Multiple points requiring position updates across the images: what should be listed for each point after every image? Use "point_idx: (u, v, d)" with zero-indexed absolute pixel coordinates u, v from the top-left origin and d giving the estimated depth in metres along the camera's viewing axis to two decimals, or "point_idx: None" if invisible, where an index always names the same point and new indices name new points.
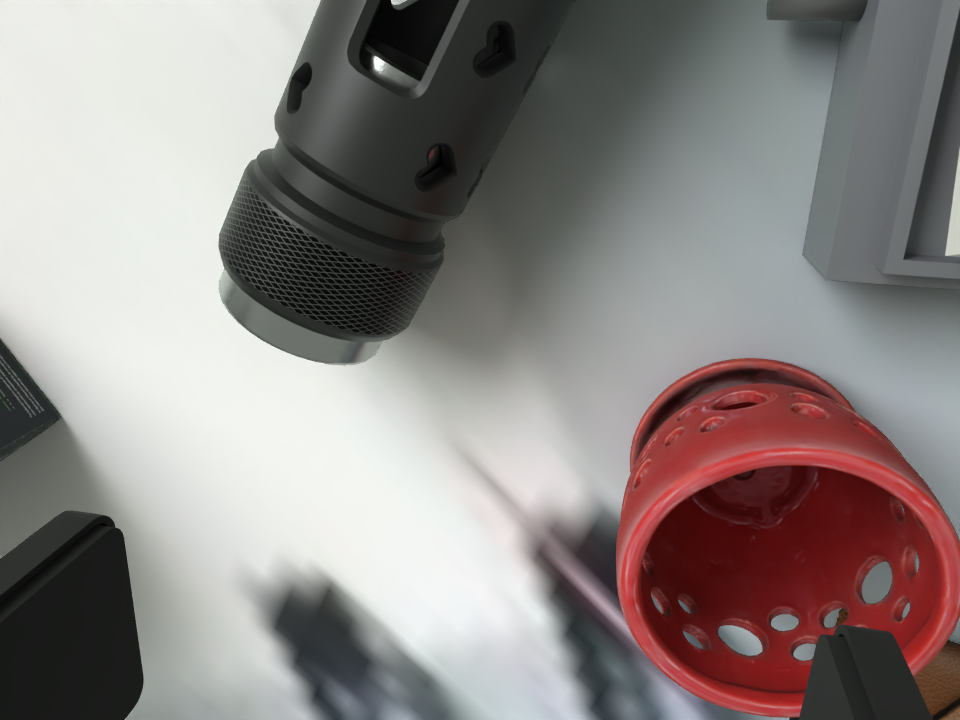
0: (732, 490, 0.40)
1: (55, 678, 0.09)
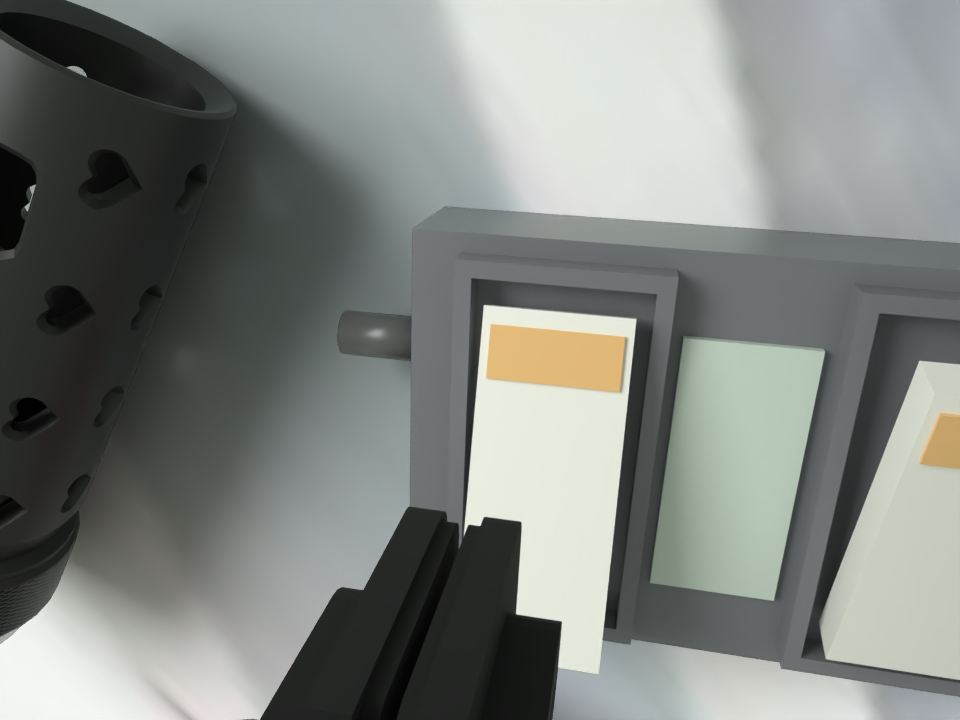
0: None
1: None
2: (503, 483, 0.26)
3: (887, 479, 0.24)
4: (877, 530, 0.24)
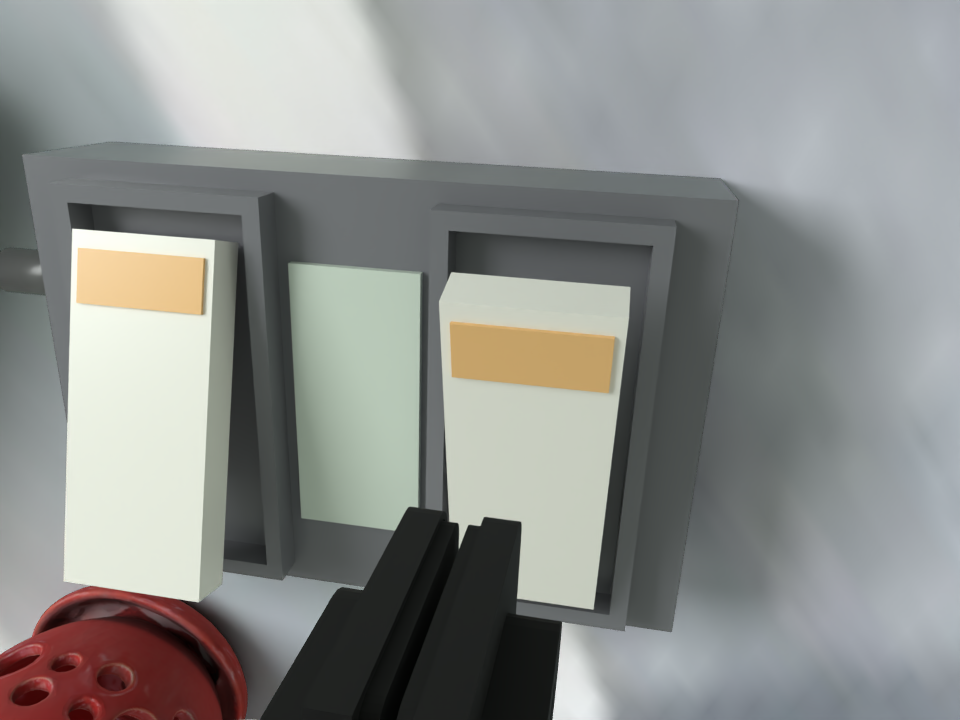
0: None
1: None
2: (100, 410, 0.26)
3: None
4: None
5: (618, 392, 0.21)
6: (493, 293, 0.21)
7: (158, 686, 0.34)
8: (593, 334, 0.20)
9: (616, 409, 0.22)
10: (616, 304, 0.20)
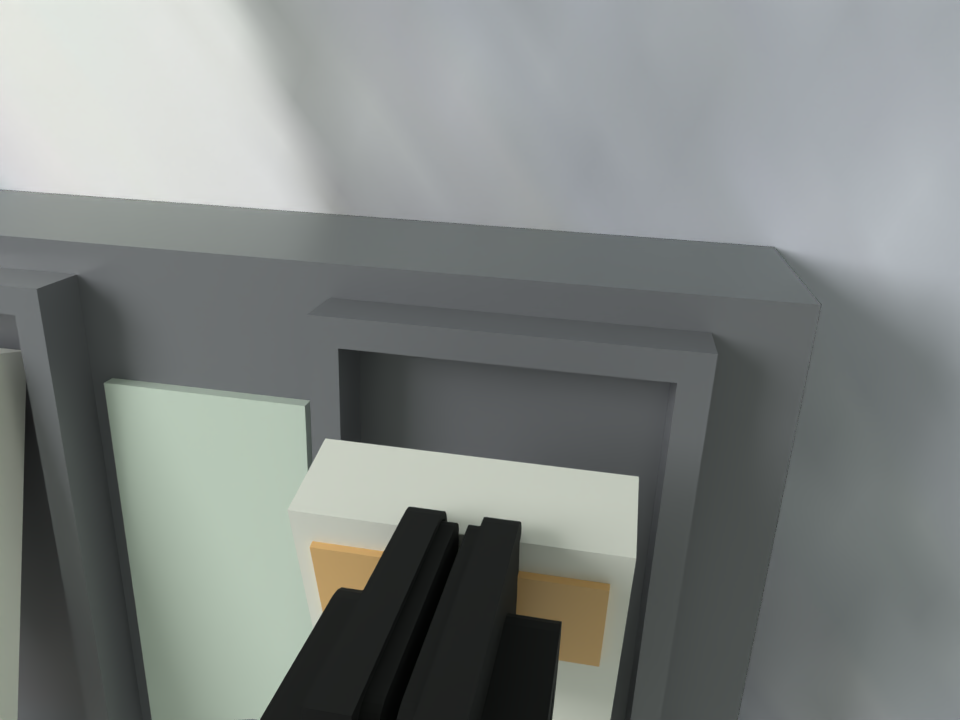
0: None
1: None
2: None
3: None
4: None
5: (617, 663, 0.12)
6: (390, 490, 0.12)
7: None
8: (570, 579, 0.11)
9: (613, 686, 0.12)
10: (613, 520, 0.11)
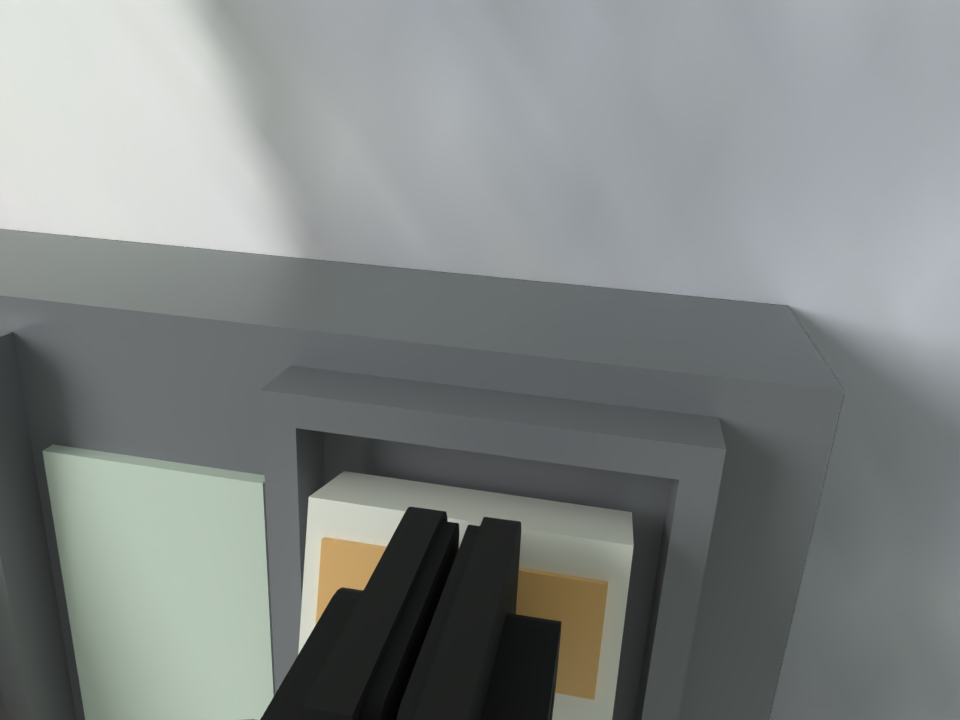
0: None
1: None
2: None
3: None
4: None
5: (612, 700, 0.12)
6: (404, 497, 0.13)
7: None
8: (570, 574, 0.11)
9: None
10: (610, 528, 0.12)
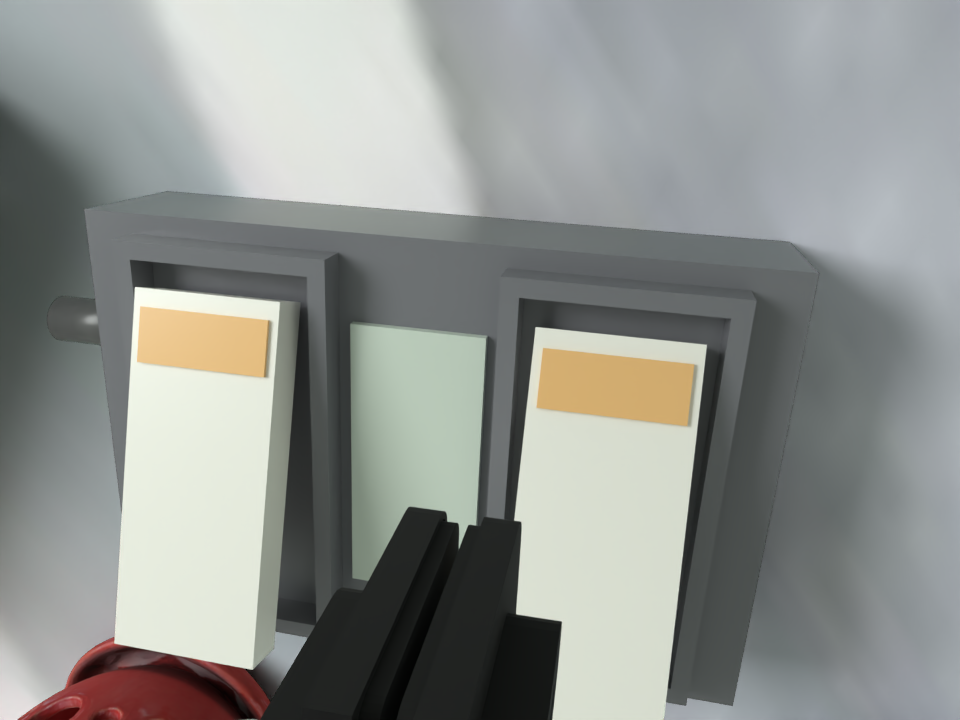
0: None
1: None
2: (157, 470, 0.25)
3: None
4: None
5: (696, 428, 0.23)
6: None
7: None
8: (674, 361, 0.23)
9: (693, 448, 0.23)
10: None
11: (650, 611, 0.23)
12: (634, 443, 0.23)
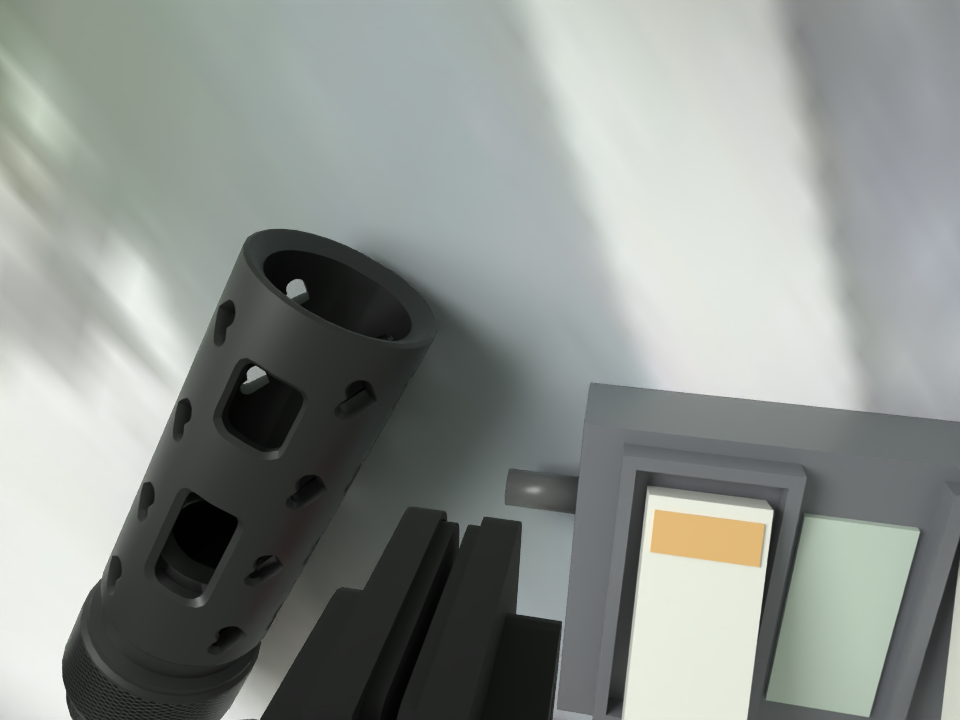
0: None
1: None
2: (662, 633, 0.33)
3: None
4: None
5: None
6: None
7: None
8: None
9: None
10: None
11: None
12: None
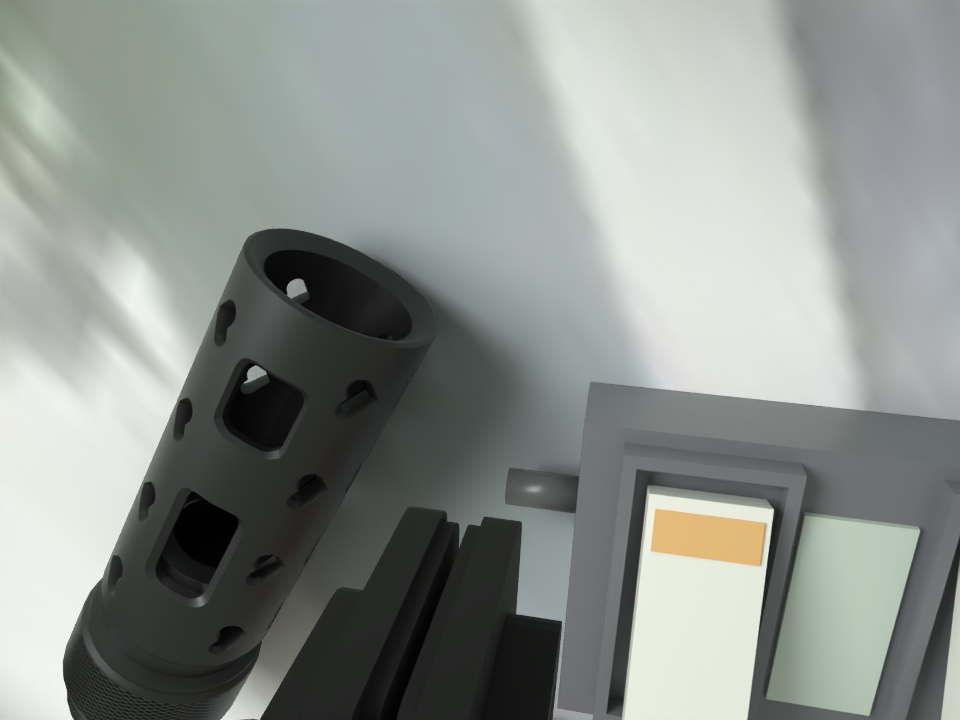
0: None
1: None
2: (663, 633, 0.33)
3: None
4: None
5: None
6: None
7: None
8: None
9: None
10: None
11: None
12: None
